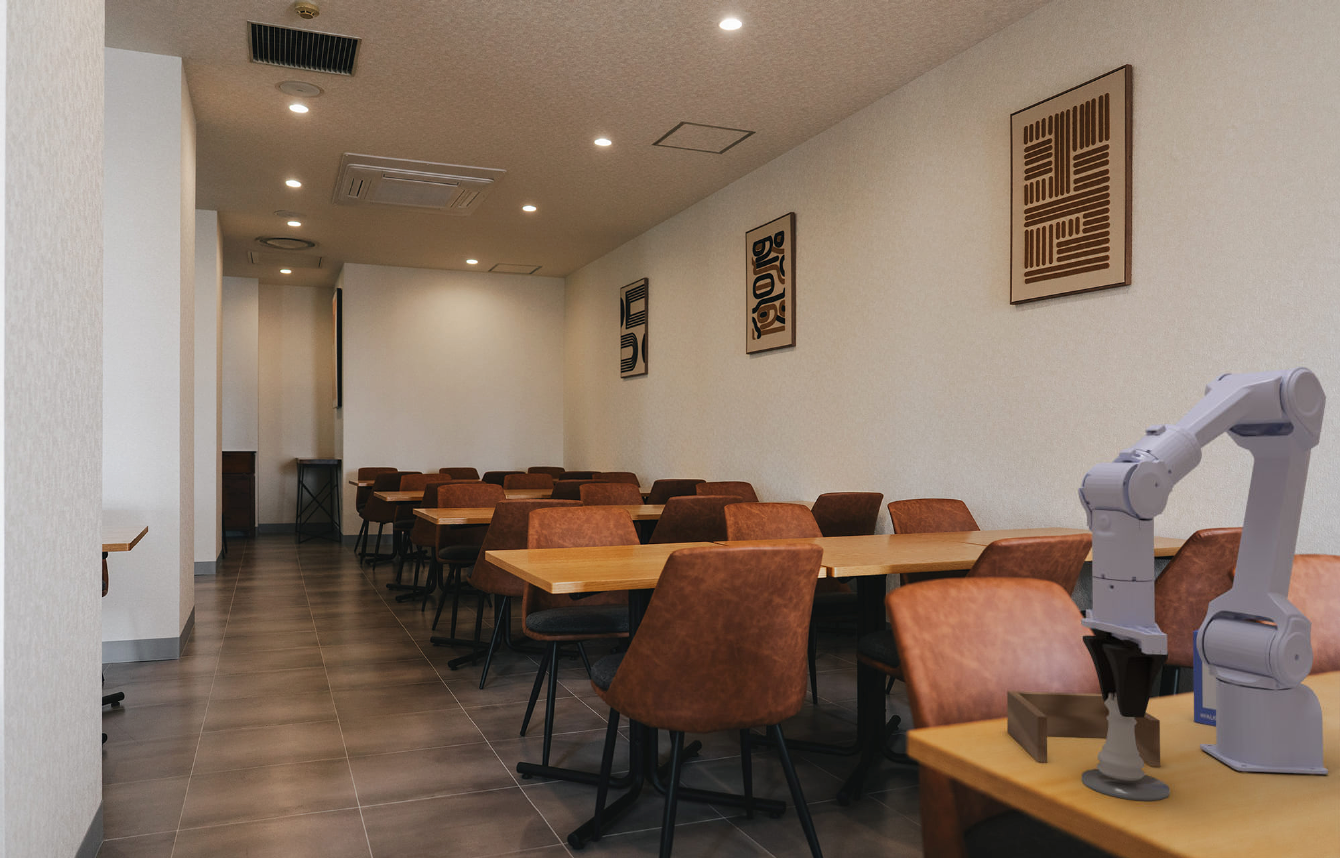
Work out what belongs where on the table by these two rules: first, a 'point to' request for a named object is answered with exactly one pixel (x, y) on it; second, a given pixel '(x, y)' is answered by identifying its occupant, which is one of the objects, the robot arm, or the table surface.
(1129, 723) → the rook chess piece
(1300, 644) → the robot arm
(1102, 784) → the coaster
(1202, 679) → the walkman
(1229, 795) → the table surface
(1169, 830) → the table surface
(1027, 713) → the u-shaped barrier
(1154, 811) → the table surface
